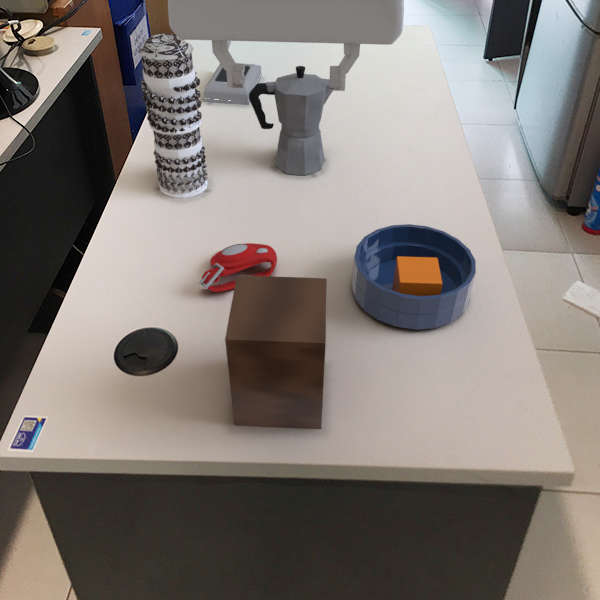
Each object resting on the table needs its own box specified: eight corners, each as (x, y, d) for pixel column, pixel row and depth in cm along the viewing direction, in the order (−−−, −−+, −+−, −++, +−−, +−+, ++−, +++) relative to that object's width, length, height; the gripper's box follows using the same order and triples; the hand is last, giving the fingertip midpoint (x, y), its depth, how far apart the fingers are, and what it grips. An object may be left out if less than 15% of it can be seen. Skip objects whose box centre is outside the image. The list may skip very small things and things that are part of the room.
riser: (322, 363, 79) (326, 278, 70) (321, 428, 71) (325, 342, 62) (243, 360, 79) (236, 275, 70) (233, 425, 72) (224, 339, 62)
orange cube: (431, 288, 89) (437, 257, 85) (436, 314, 85) (442, 283, 81) (392, 286, 89) (396, 256, 85) (395, 313, 85) (400, 282, 81)
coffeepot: (328, 147, 120) (332, 53, 108) (340, 172, 113) (346, 74, 101) (248, 155, 118) (243, 59, 106) (256, 181, 111) (251, 81, 99)
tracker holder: (213, 241, 96) (276, 231, 94) (221, 267, 98) (283, 258, 96) (190, 275, 85) (260, 266, 83) (199, 304, 87) (268, 295, 85)
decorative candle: (209, 169, 114) (195, 26, 97) (211, 197, 107) (197, 48, 90) (157, 173, 113) (134, 29, 96) (157, 201, 106) (132, 51, 89)
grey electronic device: (260, 60, 143) (247, 87, 132) (261, 76, 145) (248, 104, 134) (219, 58, 144) (202, 84, 133) (221, 73, 146) (204, 101, 135)
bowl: (482, 278, 92) (490, 245, 88) (444, 348, 81) (452, 314, 77) (380, 245, 97) (383, 212, 93) (332, 306, 87) (334, 272, 83)
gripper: (146, -77, 48) (169, 98, 57) (417, -71, 47) (396, 104, 56) (163, -93, 52) (182, 71, 62) (409, -89, 52) (391, 76, 61)
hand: (286, 87), depth 59 cm, fingers open, 8 cm apart
